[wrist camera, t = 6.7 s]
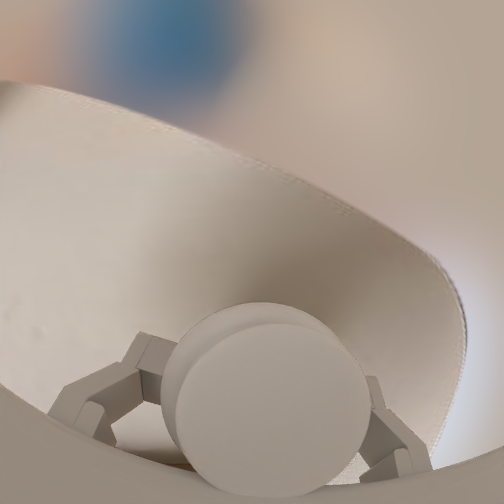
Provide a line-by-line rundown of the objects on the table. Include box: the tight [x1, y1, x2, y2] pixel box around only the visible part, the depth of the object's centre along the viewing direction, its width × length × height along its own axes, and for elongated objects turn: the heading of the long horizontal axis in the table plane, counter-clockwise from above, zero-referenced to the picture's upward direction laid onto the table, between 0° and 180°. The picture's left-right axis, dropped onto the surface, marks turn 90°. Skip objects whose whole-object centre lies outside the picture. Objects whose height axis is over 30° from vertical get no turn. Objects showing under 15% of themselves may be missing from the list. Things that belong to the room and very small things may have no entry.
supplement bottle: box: [160, 302, 371, 498], centre depth 9 cm, size 6×6×10 cm
